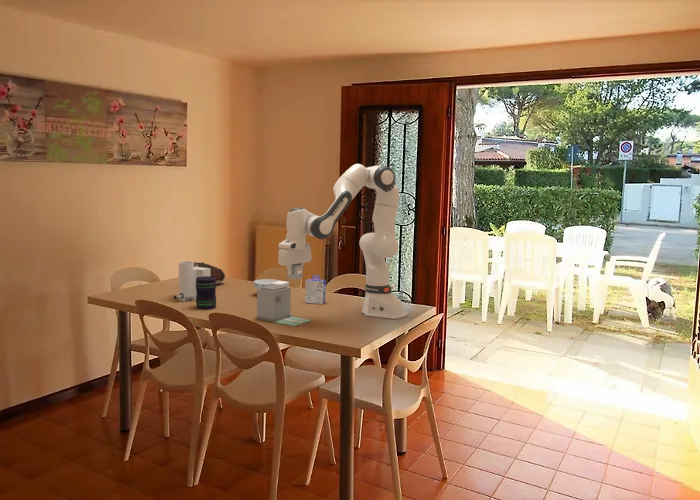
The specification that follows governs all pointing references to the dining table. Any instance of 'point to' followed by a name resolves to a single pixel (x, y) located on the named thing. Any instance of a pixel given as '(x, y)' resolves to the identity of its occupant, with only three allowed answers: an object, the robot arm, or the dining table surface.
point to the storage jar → (206, 292)
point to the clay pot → (212, 271)
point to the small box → (281, 283)
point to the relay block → (296, 272)
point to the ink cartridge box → (315, 290)
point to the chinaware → (263, 283)
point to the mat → (292, 321)
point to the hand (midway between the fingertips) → (294, 273)
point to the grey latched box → (273, 303)
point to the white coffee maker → (189, 280)
